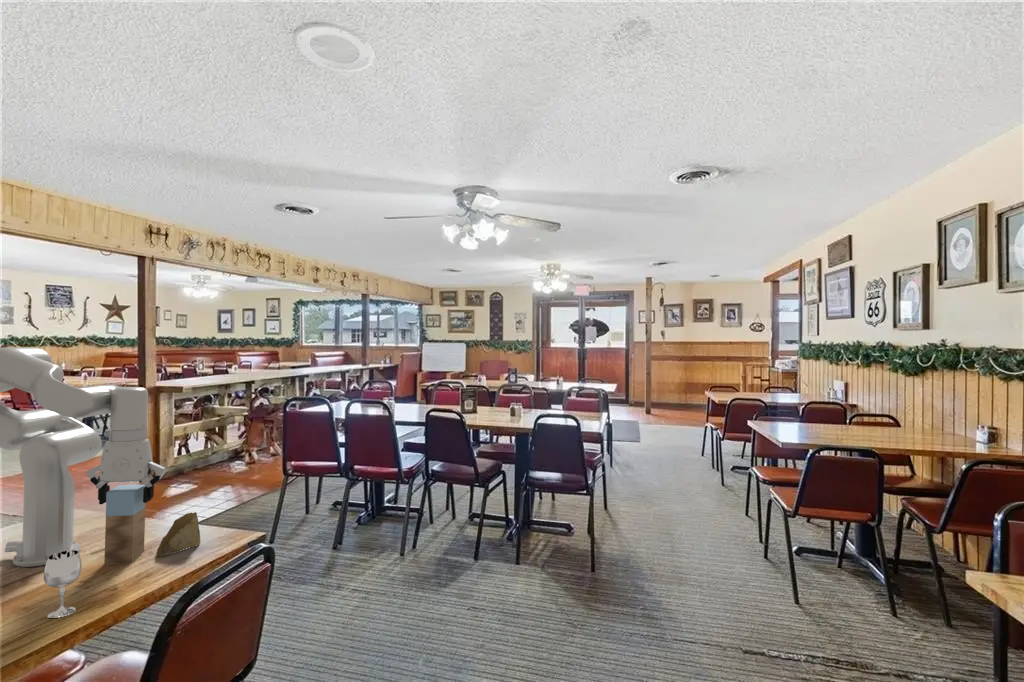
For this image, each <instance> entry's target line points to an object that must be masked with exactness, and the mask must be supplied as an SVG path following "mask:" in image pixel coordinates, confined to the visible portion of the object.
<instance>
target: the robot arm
mask: <svg viewBox="0 0 1024 682" xmlns="http://www.w3.org/2000/svg"><path fill="white" fill-rule="evenodd" d="M64 375H65V373H64V370H63V369H62V367H61V366H59V364H56V363H53V360H52V357H51V356H50V354H49V353H47V351H45V350H44V349H41V348H38V347H35V346H34V347H33V346H16V347H15V346H12V347H10V346H7V347H0V393H4V392H8V391H11V390H14V389H15V388H16V389H18V390H20V391H23V392H26V393H28V394H31V395H32V398H33V400H35V402H36V403H37V404H38V405H39V406H40V407H41V408H39V409H31V410H30V409H29V410H17V409H13V408H11V407H9V406H7V405H5V404H3V403H2V402H0V449H3V450H7V451H13V450H19V454H18V460H19V464H20V467H21V473H22V477H23V478H22V479H23V512H22V513H23V514H22V515H23V516H22V540H21V541H20V540H10V541H8V542H7V543H6V545H5V548H4V552H5V553H12V552H15V553H16V555H15V556H14V557H13V558H12V564H13V565H14V566H16V567H20V566H21V567H23V568H28V567H29V568H30V567H31V568H32V567H40V566H45V565H46V563H47V560H48V557H49V556H51V555H53V554H55V553H58V552H62V551H68V550H76V551H78V552H79V553H80V551H81V549H82V548H81V544H79V543H78V542H75V541H74V523H75V521H74V520H75V493H76V492H75V485H76V484H75V480H74V477H73V475H72V473H71V472H70V471H69V468H68V467H70V466H74V465H77V464H80V463H84V462H86V461H89V460H91V459H93V458H95V457H96V456H97V455H98V454H99V453H100V451H101V449H102V453H101V458H100V464H98V465H97V466H95V467H92V468H90V469H88V470H86V474H87V477H88V478H89V479H90V480H89V481H90V482H91V483H92V484H93V485H95V488H96V489H97V490H98V491H97V499H98V504H99V505H104V504H106V492H108V491H110V490H111V489H110V488H111V487H110V485H109V483H121V482H123V483H124V482H126V483H127V482H140V481H141V483H142V484H143V485H146V487H144V489H143V502H144V503H145V504H147V503H149V502H150V501H151V500H152V499H153V498H154V493H155V484H157V482H159V481H160V480H161V479H162V478H163V476H164V475H165V473H166V472H167V468H166V467H165V466H162V465H161V464H158V463H155V462H154V461H153V455H152V447H151V441H150V439H149V438H147V436H148V435H147V434H148V411H149V410H148V409H149V408H148V407H149V405H148V404H149V392H148V389H147V388H145V387H140V386H120V385H115V384H103V385H102V384H101V385H90V386H84V387H78V386H74V385H71V384H67V383H65V382H63V379H64V377H65V376H64ZM107 414H110V417H109V421H110V422H109V430H105V431H103V436H104V437H108V441H106V442H105V443H104V445H103V444H102V442H103V441H102V438H101V436H100V434H99V433H98V432H97V431H96V430H95V429H93V428H92V427H90V426H88V425H86V424H85V423H83V422H82V421H80V420H77V419H84V418H90V417H94V416H101V415H102V416H103V415H107ZM102 445H103V448H102ZM153 471H155V472H156V475H155V476H154V477H153V476H152V474H153ZM98 472H99V473H98Z"/></svg>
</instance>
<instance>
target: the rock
mask: <svg viewBox="0 0 1024 682" xmlns="http://www.w3.org/2000/svg"><path fill="white" fill-rule="evenodd" d="M198 517H199V516H198V513H197V512H196V511H195V512H188V513H185V514H184V515H182V516H180V517H179V518H177V519H175V520H174V521H173V524H172V526H171V527H170V529H169V530H168V532H167V533H166V534H165V535H164V536H163V538H162V539H161V541H160V544H159V546H158V547H157V550H156V552H155V554H156V556H158V557H159V558H160V557H164V556H167V555H168V554H169V555H172V554H171V553H173V554H175V553H174V552H176V553H178V552H177V551H179V552H181V551H180V550H183V549H186V548H189V547H192V548H194V547H193V546H195V547H197V546H196V545H198V546H200V545H201V531H200V526H199V524H200V523H199V518H198ZM199 544H200V545H199ZM189 549H190V548H189ZM186 550H187V549H186ZM183 551H184V550H183ZM169 555H168V556H169Z"/></svg>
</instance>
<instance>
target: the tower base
mask: <svg viewBox="0 0 1024 682" xmlns="http://www.w3.org/2000/svg"><path fill="white" fill-rule="evenodd" d="M145 537H146V535H145V530H144V531H143V532H141V533H140V534H139V535H137V536H136V537H135V538H133V539H123V540H105V539H104V565H117V564H118V563H120V564H130V563H131V564H133V562H135V561H136V560H137V559H138V558H140V557H141V556H142V555H143V554H144V553H145ZM143 552H144V553H143ZM142 553H143V554H142ZM141 554H142V555H141ZM140 555H141V556H140ZM118 565H119V564H118Z"/></svg>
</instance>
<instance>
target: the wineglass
mask: <svg viewBox="0 0 1024 682" xmlns="http://www.w3.org/2000/svg"><path fill="white" fill-rule="evenodd" d="M82 567H83V566H82V559H81V556H80V551H79V552H78V551H76V550H68V551H62V552H58V553H55V554H53V555H51V556H49V557H48V560H47V563H46V565H44V569H43V571H44V572H43V580H44V583H45V584H46V586H48V587H50V588H59V590H58V592H59V593H58V594H59V599H60V603H59V605H60V606H59V608H57V609H55V610H53V611H50V612H49V613H48V614H47V615H48V617H49V618H55V617H57V618H58V617H63V616H66V617H68V616H71V615H72V614H74V613H75V612H76V611H77V608H76V607H74V606H66V607H65V606H64V597H65V594H66V592H67V591H66V586H69V585H71V584H72V583H74V582H76V581H77V580H78V578H79V577H80V575H81V573H82V569H83V568H82ZM73 612H74V613H73ZM70 614H71V615H70ZM67 615H68V616H67ZM63 618H64V617H63Z"/></svg>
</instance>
